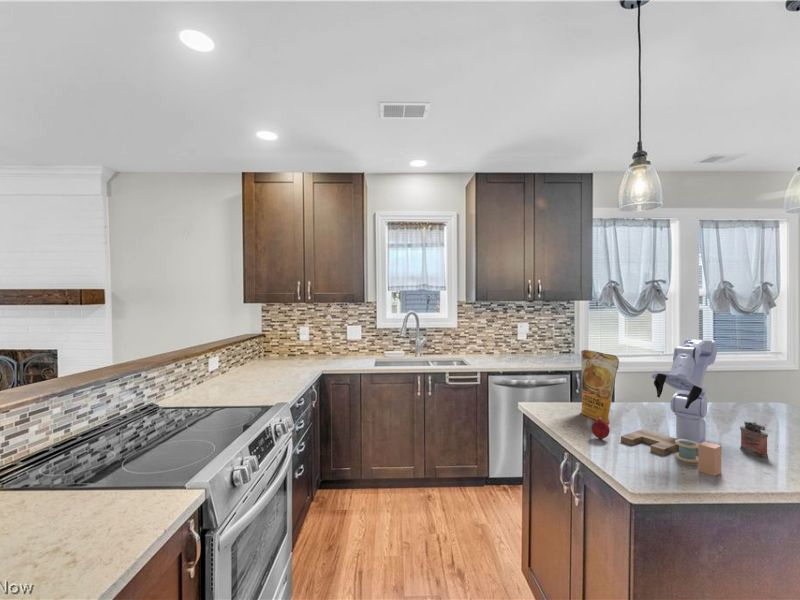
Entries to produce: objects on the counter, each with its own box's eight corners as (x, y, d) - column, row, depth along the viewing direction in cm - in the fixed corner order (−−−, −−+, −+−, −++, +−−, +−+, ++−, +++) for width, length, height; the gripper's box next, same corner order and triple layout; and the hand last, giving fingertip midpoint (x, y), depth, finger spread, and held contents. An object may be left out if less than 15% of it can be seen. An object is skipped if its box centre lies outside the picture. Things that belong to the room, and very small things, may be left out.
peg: (705, 467, 116) (705, 441, 116) (721, 473, 113) (721, 445, 113) (698, 471, 114) (698, 444, 114) (714, 476, 111) (714, 448, 111)
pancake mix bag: (587, 410, 175) (587, 349, 174) (620, 424, 156) (620, 355, 156) (574, 411, 173) (574, 349, 173) (606, 425, 155) (606, 355, 154)
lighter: (737, 448, 130) (737, 419, 130) (746, 448, 131) (746, 418, 131) (761, 458, 122) (761, 427, 122) (771, 458, 123) (771, 426, 123)
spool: (681, 452, 127) (681, 437, 127) (704, 459, 122) (703, 444, 122) (671, 457, 124) (670, 441, 124) (694, 464, 119) (694, 448, 119)
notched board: (642, 434, 144) (642, 429, 144) (685, 446, 132) (685, 441, 132) (620, 441, 137) (620, 436, 137) (663, 455, 125) (663, 449, 125)
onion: (612, 443, 136) (611, 420, 136) (594, 441, 138) (594, 419, 137) (606, 437, 142) (606, 415, 142) (589, 436, 143) (589, 414, 143)
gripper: (660, 355, 131) (650, 382, 123) (712, 373, 123) (705, 403, 115) (653, 369, 135) (644, 396, 127) (703, 387, 128) (696, 417, 120)
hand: (672, 400), depth 122 cm, fingers open, 7 cm apart
